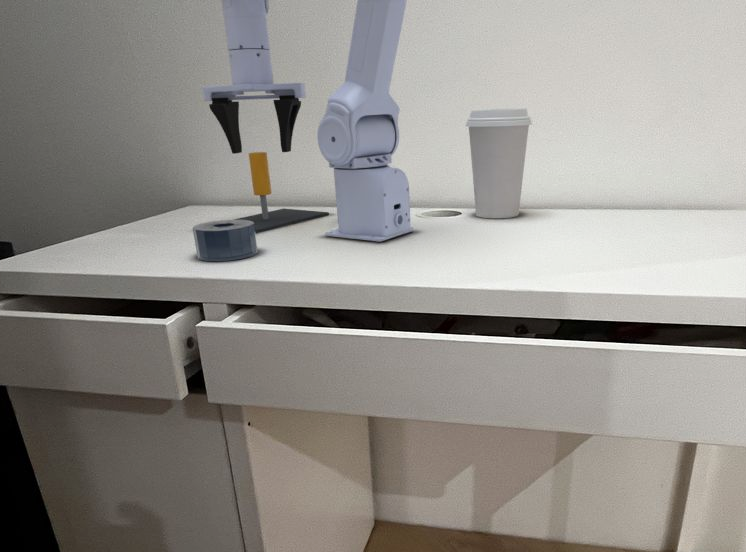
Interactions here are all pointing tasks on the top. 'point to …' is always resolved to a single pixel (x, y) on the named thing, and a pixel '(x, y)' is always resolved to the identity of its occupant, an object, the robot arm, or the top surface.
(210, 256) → the squat holed cylinder
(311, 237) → the top surface
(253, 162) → the screwdriver
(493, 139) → the coffee cup
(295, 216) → the mat
